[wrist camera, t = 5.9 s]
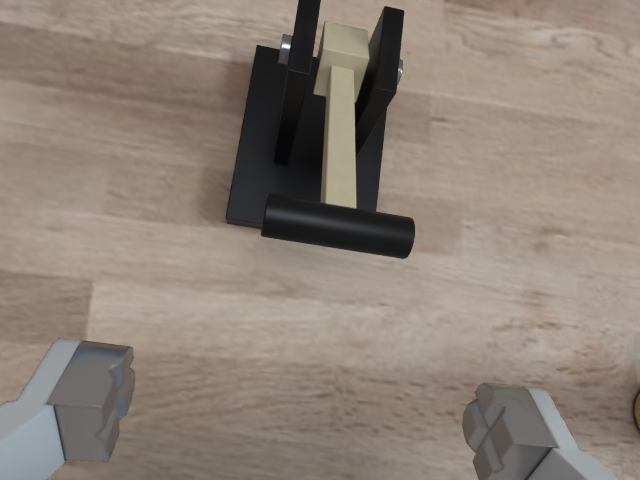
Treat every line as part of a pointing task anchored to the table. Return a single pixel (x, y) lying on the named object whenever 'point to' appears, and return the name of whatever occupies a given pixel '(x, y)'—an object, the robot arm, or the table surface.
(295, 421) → the table surface
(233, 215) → the bracket
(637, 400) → the sprinkles bottle
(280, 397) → the table surface
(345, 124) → the lever
